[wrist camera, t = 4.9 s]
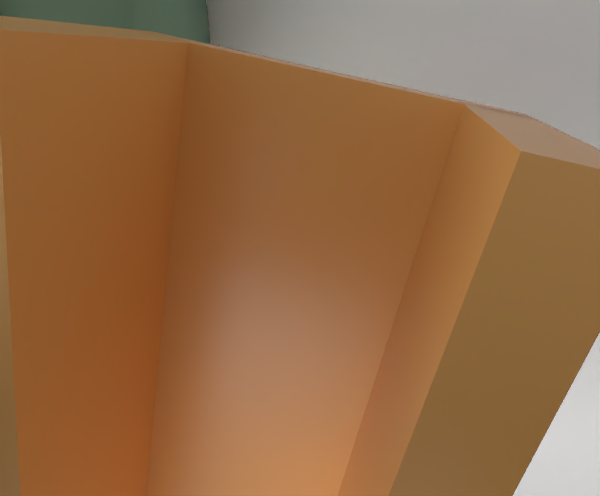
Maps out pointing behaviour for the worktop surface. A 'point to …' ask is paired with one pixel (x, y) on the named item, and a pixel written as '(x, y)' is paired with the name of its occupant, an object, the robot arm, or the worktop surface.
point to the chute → (276, 275)
